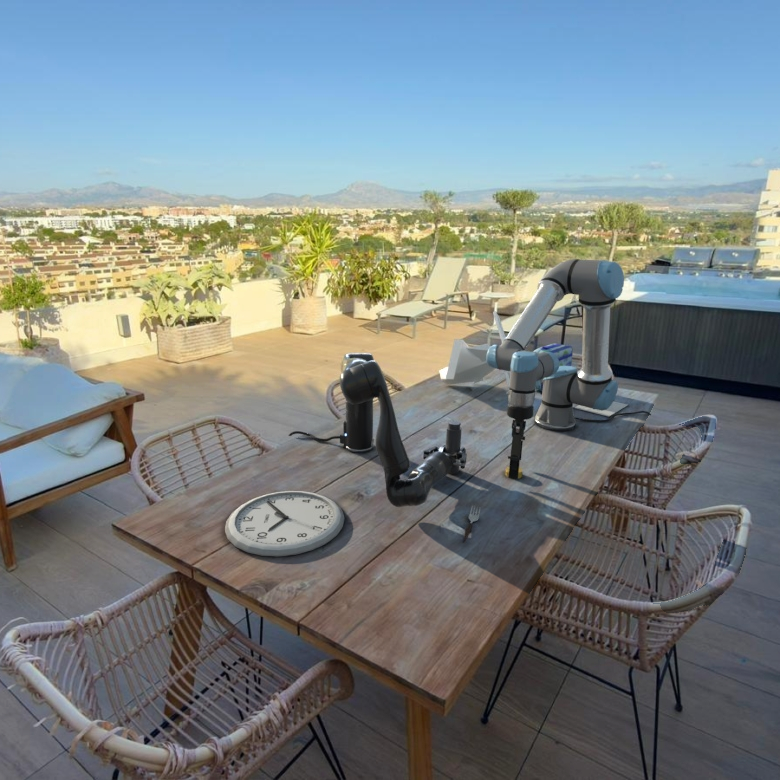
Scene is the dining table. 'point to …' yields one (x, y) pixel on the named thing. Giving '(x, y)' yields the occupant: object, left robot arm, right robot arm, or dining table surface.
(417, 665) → the dining table surface
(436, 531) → the dining table surface
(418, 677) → the dining table surface
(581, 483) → the dining table surface
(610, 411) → the invitation card
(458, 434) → the dark grey cylinder
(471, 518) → the fork
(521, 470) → the lid
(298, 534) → the wall clock
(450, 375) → the white plastic object
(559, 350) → the lunch box
